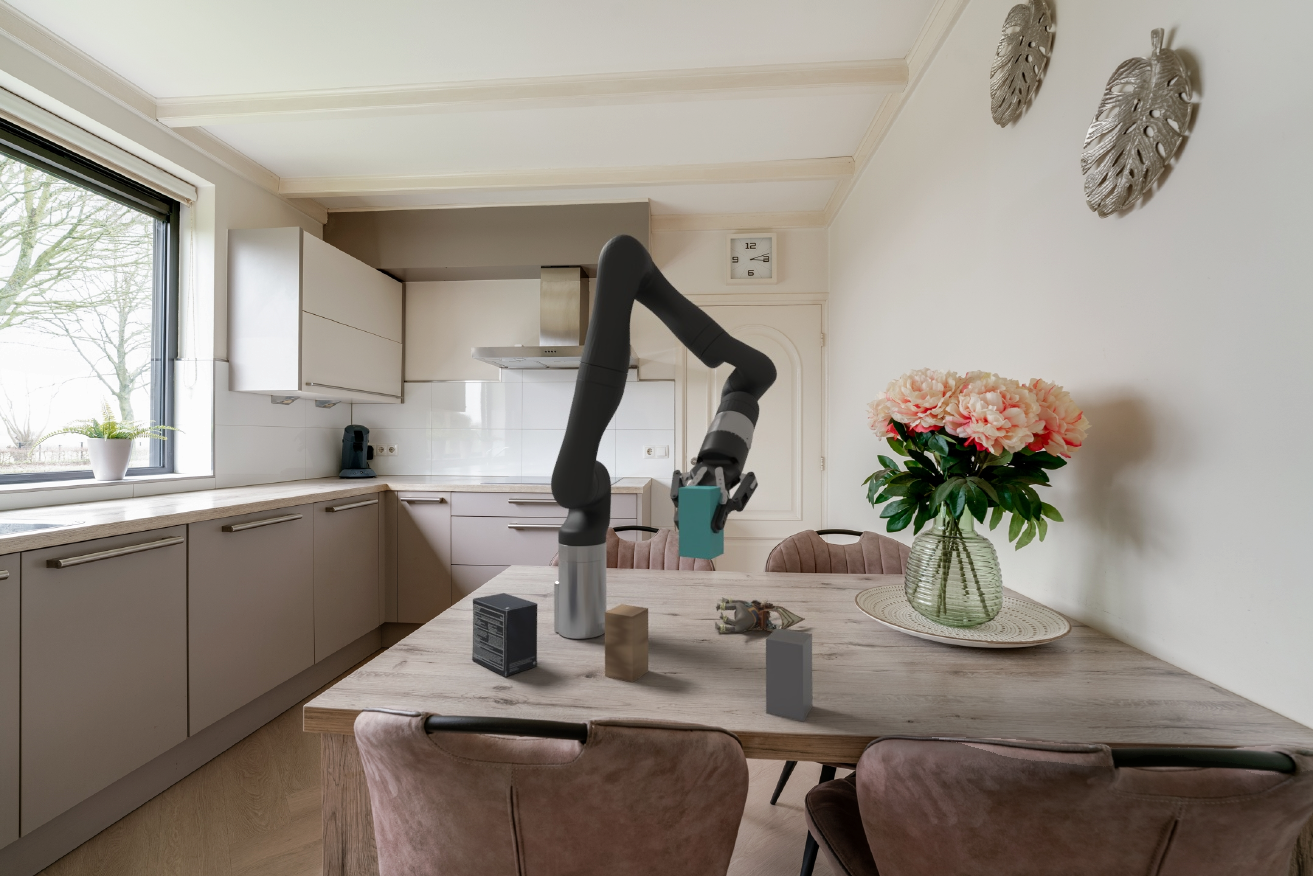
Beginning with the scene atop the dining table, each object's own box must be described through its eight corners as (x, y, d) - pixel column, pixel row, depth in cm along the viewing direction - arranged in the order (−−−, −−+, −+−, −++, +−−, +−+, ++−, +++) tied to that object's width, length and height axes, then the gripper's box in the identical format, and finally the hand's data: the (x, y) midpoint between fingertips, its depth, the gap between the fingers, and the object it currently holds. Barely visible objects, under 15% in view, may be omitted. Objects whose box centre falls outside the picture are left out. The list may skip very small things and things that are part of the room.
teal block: (678, 556, 83) (678, 487, 83) (693, 550, 88) (693, 485, 88) (710, 559, 81) (710, 489, 81) (723, 553, 85) (723, 486, 85)
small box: (540, 666, 93) (540, 602, 94) (505, 678, 89) (505, 610, 89) (504, 650, 101) (504, 590, 101) (470, 660, 96) (470, 598, 96)
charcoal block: (766, 713, 77) (765, 638, 77) (776, 698, 81) (776, 628, 81) (803, 721, 75) (802, 645, 75) (812, 706, 79) (812, 633, 79)
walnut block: (605, 676, 89) (604, 612, 90) (621, 665, 94) (621, 604, 94) (632, 682, 87) (632, 616, 87) (648, 670, 91) (648, 608, 92)
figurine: (725, 587, 124) (805, 593, 120) (724, 616, 124) (805, 623, 119) (709, 607, 105) (804, 615, 100) (709, 641, 104) (804, 650, 100)
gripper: (680, 429, 94) (644, 509, 84) (763, 427, 88) (736, 515, 77) (693, 460, 99) (661, 540, 88) (774, 461, 92) (749, 548, 82)
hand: (696, 528), depth 83 cm, fingers closed on teal block, 5 cm apart
